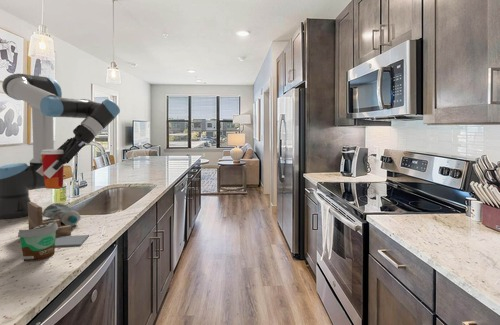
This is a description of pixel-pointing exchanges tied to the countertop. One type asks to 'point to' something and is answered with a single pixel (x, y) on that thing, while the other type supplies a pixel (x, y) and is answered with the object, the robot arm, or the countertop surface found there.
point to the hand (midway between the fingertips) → (42, 174)
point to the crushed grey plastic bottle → (62, 214)
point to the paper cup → (47, 161)
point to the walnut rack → (37, 219)
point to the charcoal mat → (70, 240)
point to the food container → (38, 241)
